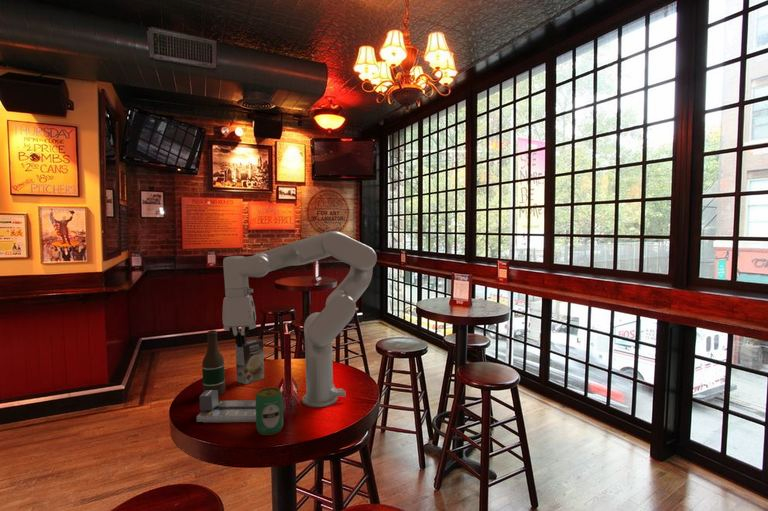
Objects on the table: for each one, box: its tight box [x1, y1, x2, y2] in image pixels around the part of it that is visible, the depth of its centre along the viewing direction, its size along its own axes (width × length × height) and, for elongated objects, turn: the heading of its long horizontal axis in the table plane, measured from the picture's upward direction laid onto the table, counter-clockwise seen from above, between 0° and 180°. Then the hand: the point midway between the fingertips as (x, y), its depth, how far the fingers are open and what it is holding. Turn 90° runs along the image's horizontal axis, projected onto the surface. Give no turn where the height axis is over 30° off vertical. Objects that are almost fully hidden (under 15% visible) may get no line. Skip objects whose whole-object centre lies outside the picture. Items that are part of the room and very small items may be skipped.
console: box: [196, 399, 256, 423], centre depth 137 cm, size 24×12×4 cm, turn 90°
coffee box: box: [235, 338, 265, 385], centre depth 167 cm, size 9×6×16 cm
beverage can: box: [254, 386, 284, 436], centre depth 125 cm, size 8×8×12 cm
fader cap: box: [199, 390, 219, 411], centre depth 137 cm, size 4×5×5 cm
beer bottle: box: [201, 329, 226, 397], centre depth 153 cm, size 8×8×24 cm
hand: (241, 346), depth 139 cm, fingers closed
